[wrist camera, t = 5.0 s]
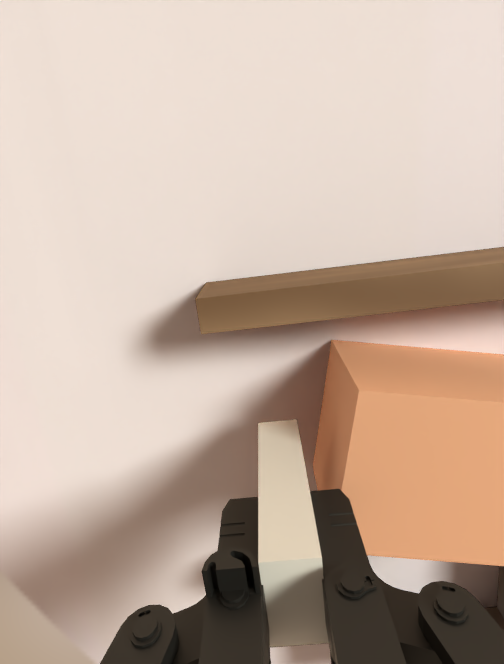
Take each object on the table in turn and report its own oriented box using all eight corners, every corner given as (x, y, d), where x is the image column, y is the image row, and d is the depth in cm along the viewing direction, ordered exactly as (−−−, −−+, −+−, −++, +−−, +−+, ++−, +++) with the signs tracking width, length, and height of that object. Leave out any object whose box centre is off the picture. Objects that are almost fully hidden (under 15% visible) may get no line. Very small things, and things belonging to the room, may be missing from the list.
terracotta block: (330, 338, 17) (359, 390, 12) (523, 355, 17) (626, 412, 12) (312, 463, 19) (330, 552, 14) (486, 478, 19) (564, 570, 14)
